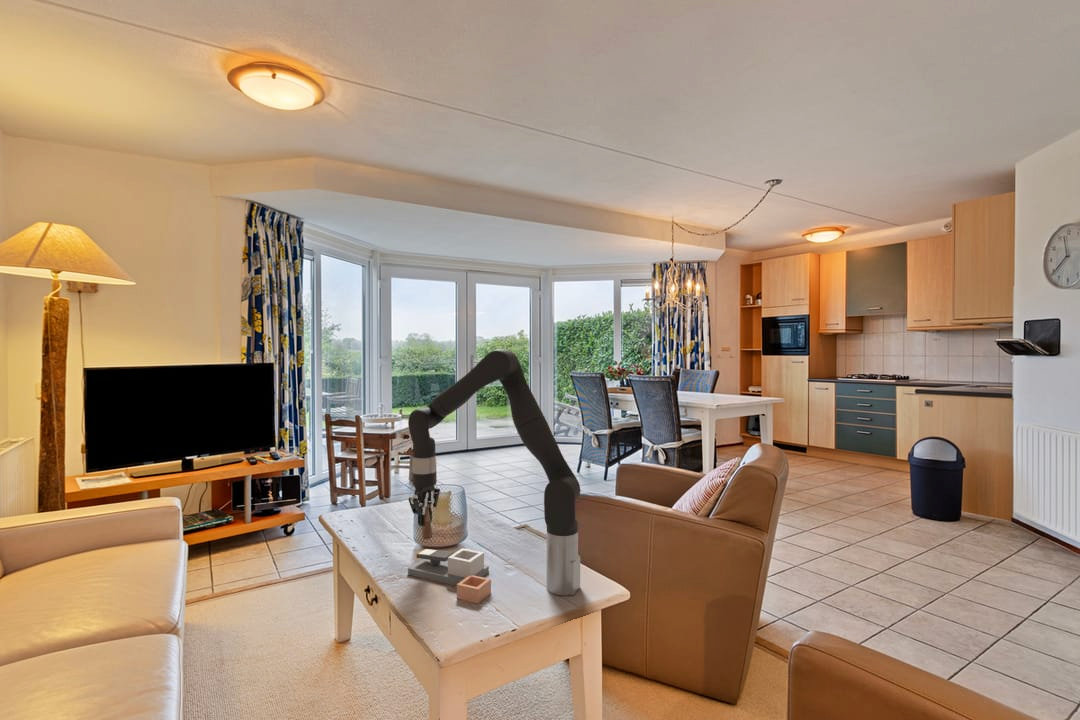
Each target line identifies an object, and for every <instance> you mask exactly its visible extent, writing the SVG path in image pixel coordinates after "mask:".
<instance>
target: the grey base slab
mask: <svg viewBox="0 0 1080 720" xmlns="http://www.w3.org/2000/svg"><path fill="white" fill-rule="evenodd" d="M489 569H490V567H489V565H485V552H484V551H478V550H474V549H469V548H460V549H459V550H457V551H456V552H454V554H452V555H451V556H449V557H448V560H447V561H446V562H444V561H436V560H428V559H420V560H419V561H418V562H416V563H415V564H412V565H411V566H409V567H408V568H407V575H409V576H413V577H416V578H422V579H426V580H431V581H434V582H439V583H443V584H447V585H451V586H456V587H457V584H458V583H460V582H461V581H462V580H464V579H465V578H466V577H468V576H469V575H474V576H479V577H485V576H486V575H488V574H489V572H490V571H489Z"/></svg>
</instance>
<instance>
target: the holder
mask: <svg viewBox="0 0 1080 720" xmlns="http://www.w3.org/2000/svg"><path fill="white" fill-rule="evenodd" d="M491 593H492V579H491V578H487V577H485V576H483V577H479V576H474V575H469V576H468V577H466V578H465V579H464V580H462V581H461V582H460V583H458V584H457V586H456V600H457V599H459V600H462V601H466V602H470V603H474V604H480V603H481V602H482V601H483V600H484V599H486V598H487V597H488V596H489V595H491Z"/></svg>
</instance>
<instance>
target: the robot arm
mask: <svg viewBox="0 0 1080 720" xmlns="http://www.w3.org/2000/svg"><path fill="white" fill-rule="evenodd" d="M497 381H499V382H500V383H501V385H502V387H503V389H504V391H505V393H506V395H507V398H508V401H509V406H510V407H509V408H510V412H511V418H512V422H513V425H514V427H515V430H516V431H517V434H518V435H519V438H520V440H521V442H522V443H523V444H524V446H525V448H526V449H527V450H528V451H529V452H530V454H532V456H533V457H534V458H536V460H537V461H538V462H539V463H540V466H541V467H542V468H543V471H544V472H545V475H546V477H547V480H548V483H547V484H546V487H544V493H543V509H544V514H543V515H544V522H545V525H546V580H545V581H546V590H547V592H549V593H551V594H553V595H557V596H574V595H575V594H576V593H577V591H578V590H579V589H580V587H581V555H579V523H578V521H577V519H576V502H577V500H579V498H580V496H581V485H580V483H579V481H578V479H577V477H576V474H574V472H573V470H572V469H571V468H570V466H569V464H568V462H567V461H566V459H565V458H564V457H565V456H564V455H563V453H562V452H561V449H560V447H559V444H558V443H557V441H556V439H555V437H554V434H553V433H552V430H551V428H550V425H549V423H548V421H547V420H546V417H545V415H544V413H543V411H542V410H541V408H540V406H539V404H538V401H537V400H536V398H535V396H534V395H533V392H532V390H531V389H530V387H529V384H528V383H527V380H526V377H525V374H524V372H523V369H522V367H521V364H520V360H519V358H518V357H517V355H516V354H515V353H514V352H513V351H511V350H508V349H500V348H499V349H492V350H490V351H489V352H488V353H487V354H486V355H485V356H484V357H483V358H482V359H480V361H478V363H477V364H476V365H475V366H474V367H473V368H472V369H471V370H469V371H468V373H466V374H465V375H463V376H462V377H460V379H459V380H457V381H456V382H455V383H453V384H451V386H449V387H447V388H446V389H445V390H443V391H442V392H440V393H439V394H438V395H436V396H435V397H434V398H433V400H432V402H431V403H429V404H428V405H427V406H425V407H424V406H423V407H420V408H417V409H414V410H412V411H411V413H410V414H409V416H408V423H407V424H408V430H409V434H410V438H411V441H412V465H411V467H412V469H411V470H412V472H411V473H412V477H411V478H412V486H413V487H414V494H413V496H412V497H408V502H409V506H410V509H411V512H412V514H415V515H417V525H418V526H419V527H421V526H425V507H426V506H427V502H428V506H429V513H430V521H431V523H432V522H433V511H434V508H436V507H437V506H438V505H437V504H438V502H439V501H438V500H439V497H440V493H441V489H440V488H437V487H435V486H436V485H437V483H438V482H437V458H436V440H435V439H434V438H433V437H431V435H430V429H432V428H434V427H435V426H438V425H439V424H440V423H441V422H442V421H443V420H444V419H446V417H448V416H449V415H450V414H453V412H455V411H456V410H458V409H459V408H461V407H462V406H463V405H465V404H466V403H467V402H468V401H469V400H470V399H471V398H472V397H473V395H475V394H476V393H477V392H479V391H480V390H481V389H482V388H484V387H486V386H487V385H490V384H492V383H494V382H497ZM420 503H423V504H420ZM420 507H422V510H421V509H420Z"/></svg>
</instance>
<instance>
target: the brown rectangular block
mask: <svg viewBox="0 0 1080 720" xmlns="http://www.w3.org/2000/svg"><path fill="white" fill-rule="evenodd" d="M420 504H423V503H420ZM420 509H421V510H422V507H420ZM420 528H421V533H422V534H421V535H422V539H423V540H429V539H432V538H433V530H432V522H431V521H430V513H429V506H428V502H427V506H426V507H425V526H420Z"/></svg>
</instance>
